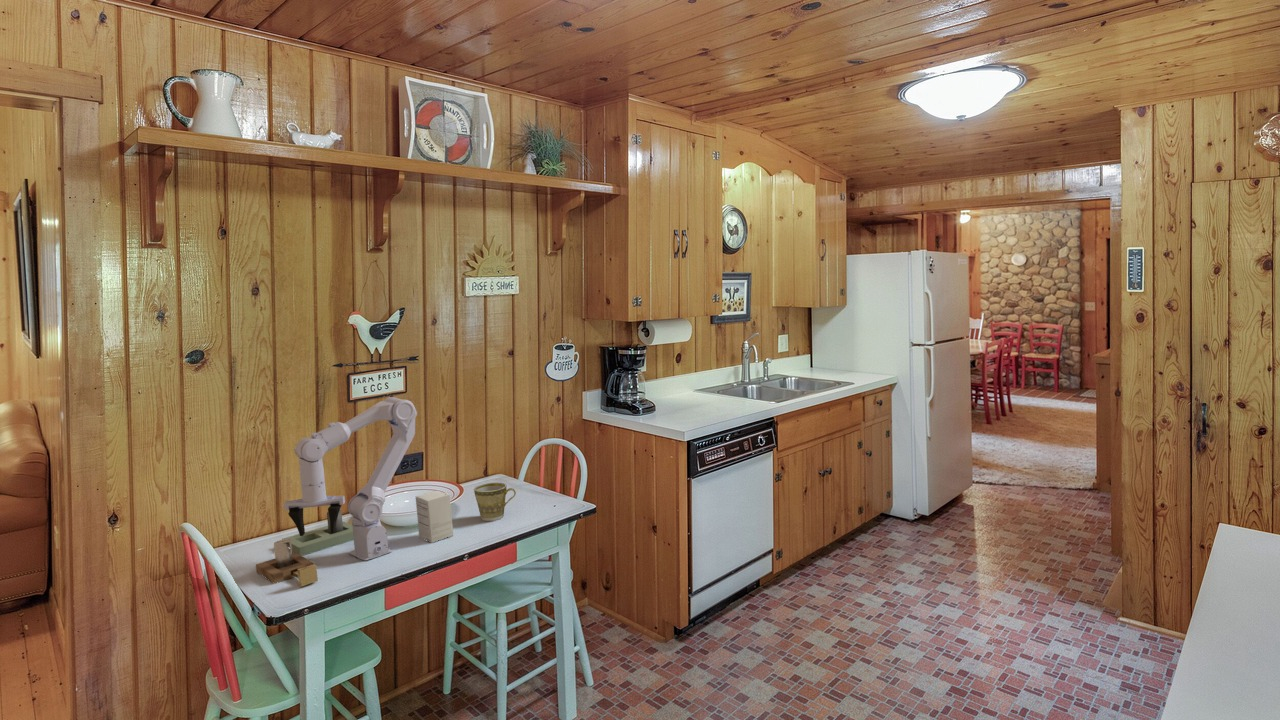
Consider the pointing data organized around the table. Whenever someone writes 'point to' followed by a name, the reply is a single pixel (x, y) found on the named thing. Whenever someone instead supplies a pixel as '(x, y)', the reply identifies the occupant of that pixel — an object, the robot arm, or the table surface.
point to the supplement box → (434, 516)
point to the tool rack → (322, 537)
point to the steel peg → (283, 553)
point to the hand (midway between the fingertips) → (317, 533)
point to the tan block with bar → (306, 575)
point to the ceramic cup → (491, 500)
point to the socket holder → (285, 573)
